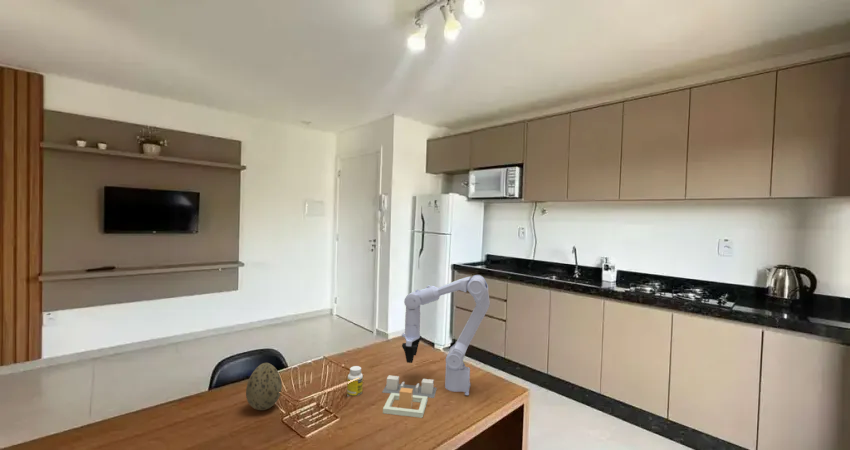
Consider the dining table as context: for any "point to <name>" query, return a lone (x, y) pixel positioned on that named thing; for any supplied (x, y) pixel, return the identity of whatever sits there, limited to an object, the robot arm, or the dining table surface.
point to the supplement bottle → (355, 382)
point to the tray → (404, 411)
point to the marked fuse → (405, 398)
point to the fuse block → (418, 390)
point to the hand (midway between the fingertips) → (411, 358)
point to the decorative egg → (263, 387)
